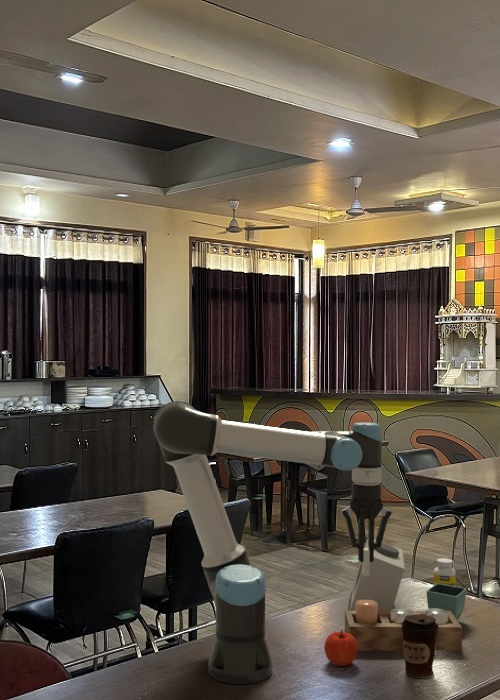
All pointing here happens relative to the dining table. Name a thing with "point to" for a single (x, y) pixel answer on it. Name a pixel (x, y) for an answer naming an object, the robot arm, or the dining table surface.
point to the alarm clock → (379, 578)
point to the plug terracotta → (366, 611)
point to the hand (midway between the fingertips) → (365, 574)
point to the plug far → (438, 615)
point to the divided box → (398, 633)
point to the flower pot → (447, 598)
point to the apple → (341, 648)
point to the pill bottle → (445, 572)
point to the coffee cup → (419, 644)
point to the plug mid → (399, 614)
